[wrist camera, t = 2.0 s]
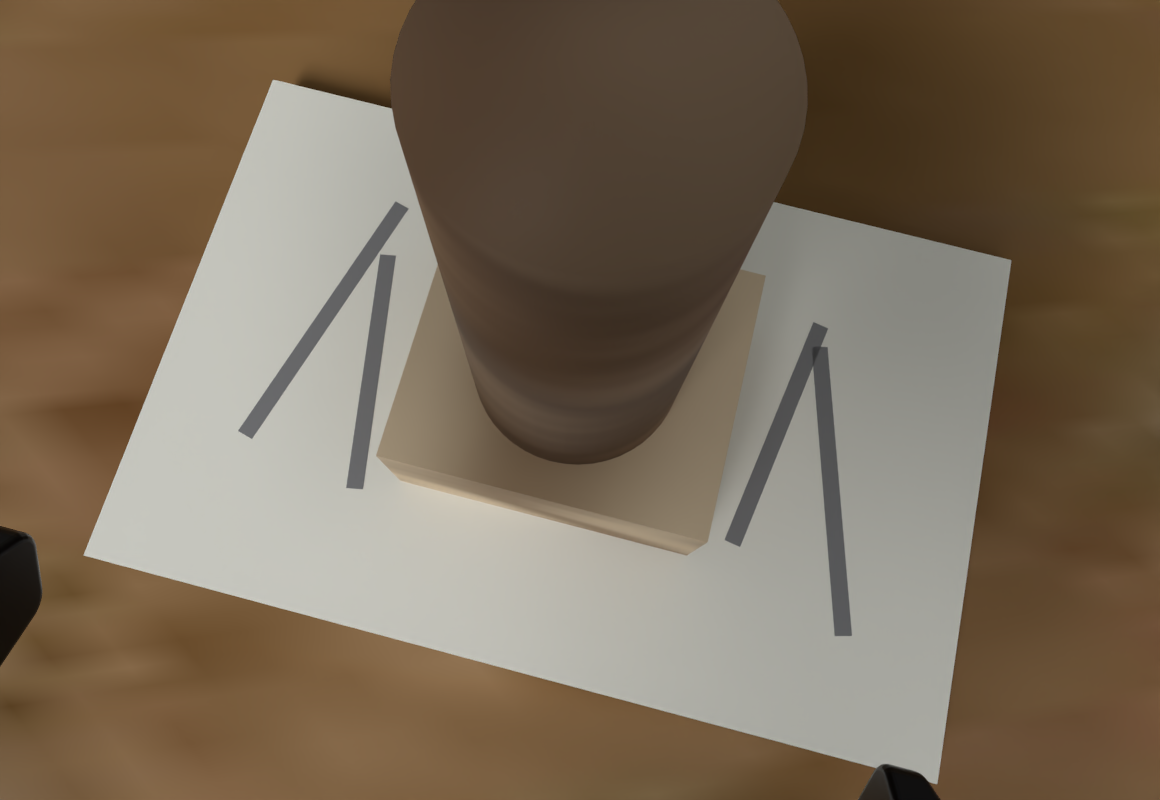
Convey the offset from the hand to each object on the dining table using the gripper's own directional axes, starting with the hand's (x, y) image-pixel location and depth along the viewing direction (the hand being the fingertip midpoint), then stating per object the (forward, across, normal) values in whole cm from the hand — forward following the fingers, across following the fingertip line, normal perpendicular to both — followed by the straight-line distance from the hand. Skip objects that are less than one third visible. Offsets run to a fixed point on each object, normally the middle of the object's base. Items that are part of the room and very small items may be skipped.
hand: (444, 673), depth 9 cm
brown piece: (+13, 0, +4) cm, 13 cm away
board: (+13, 0, +4) cm, 14 cm away
